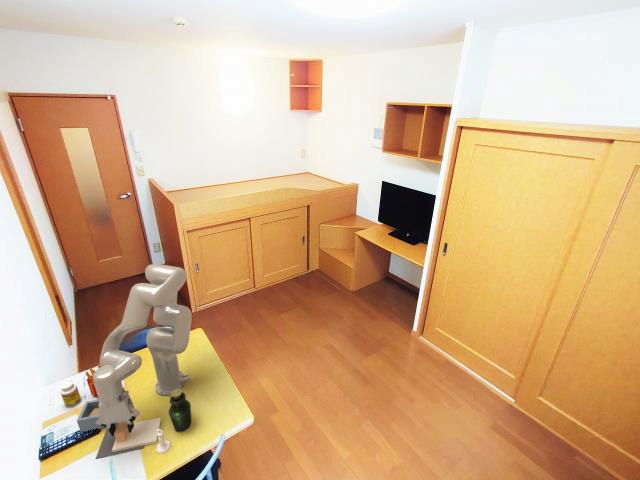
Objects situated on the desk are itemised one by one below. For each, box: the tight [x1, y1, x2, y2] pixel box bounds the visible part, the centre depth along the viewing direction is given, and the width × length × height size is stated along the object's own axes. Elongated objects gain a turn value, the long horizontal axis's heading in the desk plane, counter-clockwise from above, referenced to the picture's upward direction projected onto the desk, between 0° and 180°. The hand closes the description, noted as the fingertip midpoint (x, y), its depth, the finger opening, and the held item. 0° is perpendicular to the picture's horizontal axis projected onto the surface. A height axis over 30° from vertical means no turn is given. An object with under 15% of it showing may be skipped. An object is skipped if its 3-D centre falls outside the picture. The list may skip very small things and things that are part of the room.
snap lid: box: [112, 417, 162, 452], centre depth 122 cm, size 15×10×6 cm, turn 105°
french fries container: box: [85, 364, 101, 398], centre depth 138 cm, size 7×9×14 cm
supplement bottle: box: [60, 380, 82, 408], centre depth 134 cm, size 6×6×10 cm
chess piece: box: [155, 429, 171, 455], centre depth 117 cm, size 5×5×10 cm
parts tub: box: [76, 398, 118, 433], centre depth 128 cm, size 14×9×7 cm, turn 106°
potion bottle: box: [168, 388, 192, 433], centre depth 124 cm, size 8×8×18 cm
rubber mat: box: [95, 419, 148, 460], centre depth 122 cm, size 16×12×1 cm
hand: (122, 430), depth 120 cm, fingers open, 5 cm apart
